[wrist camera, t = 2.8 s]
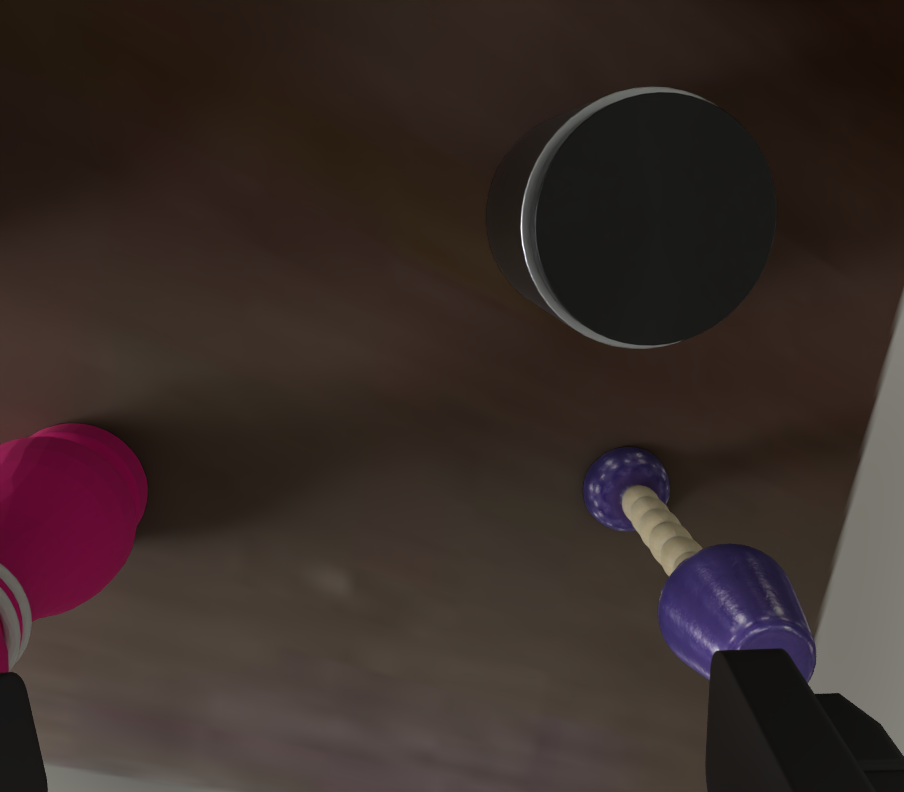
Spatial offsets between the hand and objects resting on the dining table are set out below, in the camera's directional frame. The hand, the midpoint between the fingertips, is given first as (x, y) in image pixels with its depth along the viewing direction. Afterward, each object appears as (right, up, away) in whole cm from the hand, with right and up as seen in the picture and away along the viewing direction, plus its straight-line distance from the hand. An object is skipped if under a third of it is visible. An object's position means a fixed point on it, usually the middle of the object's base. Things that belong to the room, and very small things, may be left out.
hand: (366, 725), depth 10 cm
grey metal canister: (+7, +12, +28) cm, 32 cm away
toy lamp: (+9, 0, +32) cm, 33 cm away
